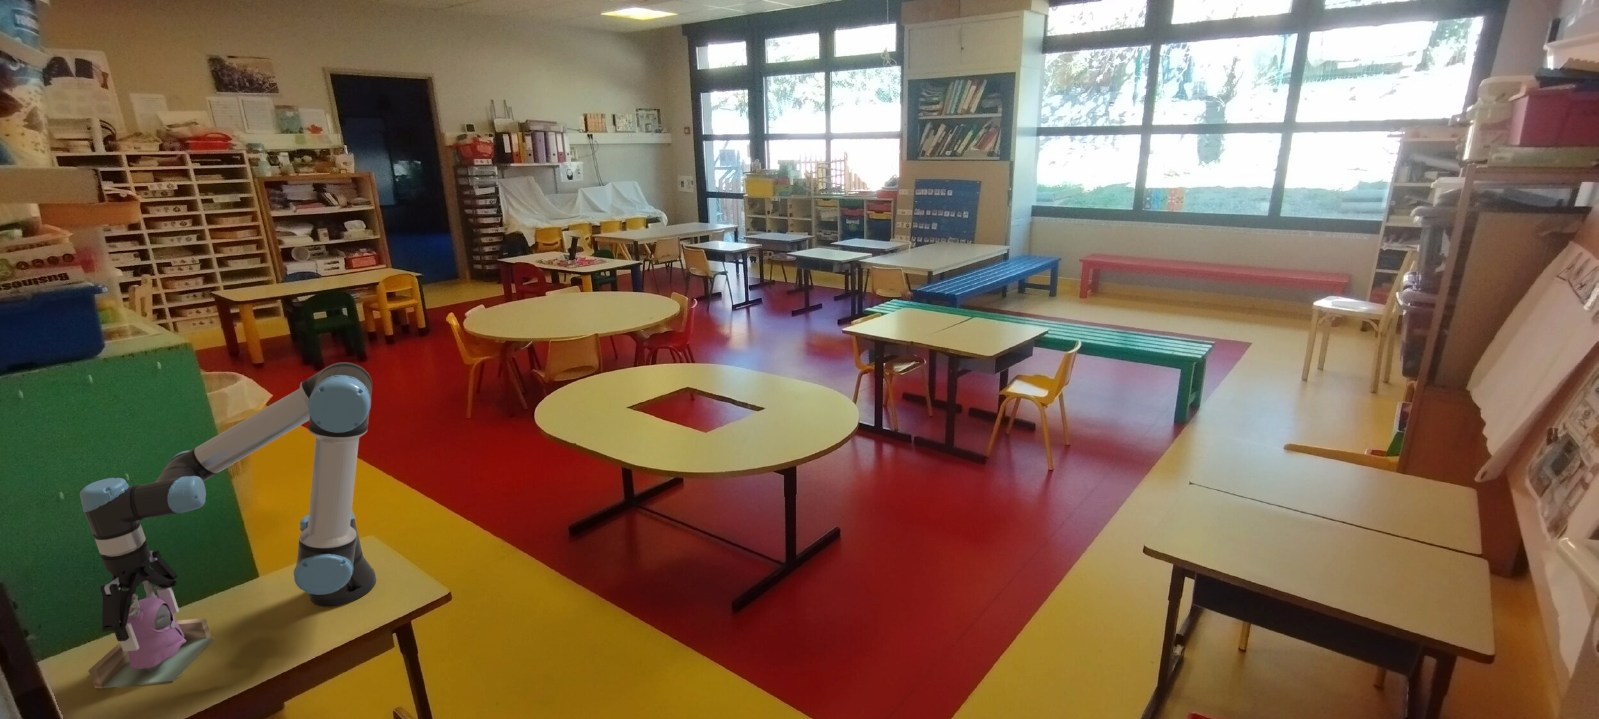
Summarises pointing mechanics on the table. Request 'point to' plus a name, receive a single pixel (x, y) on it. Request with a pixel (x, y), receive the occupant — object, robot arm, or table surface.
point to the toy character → (153, 631)
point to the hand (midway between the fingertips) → (152, 630)
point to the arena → (119, 674)
